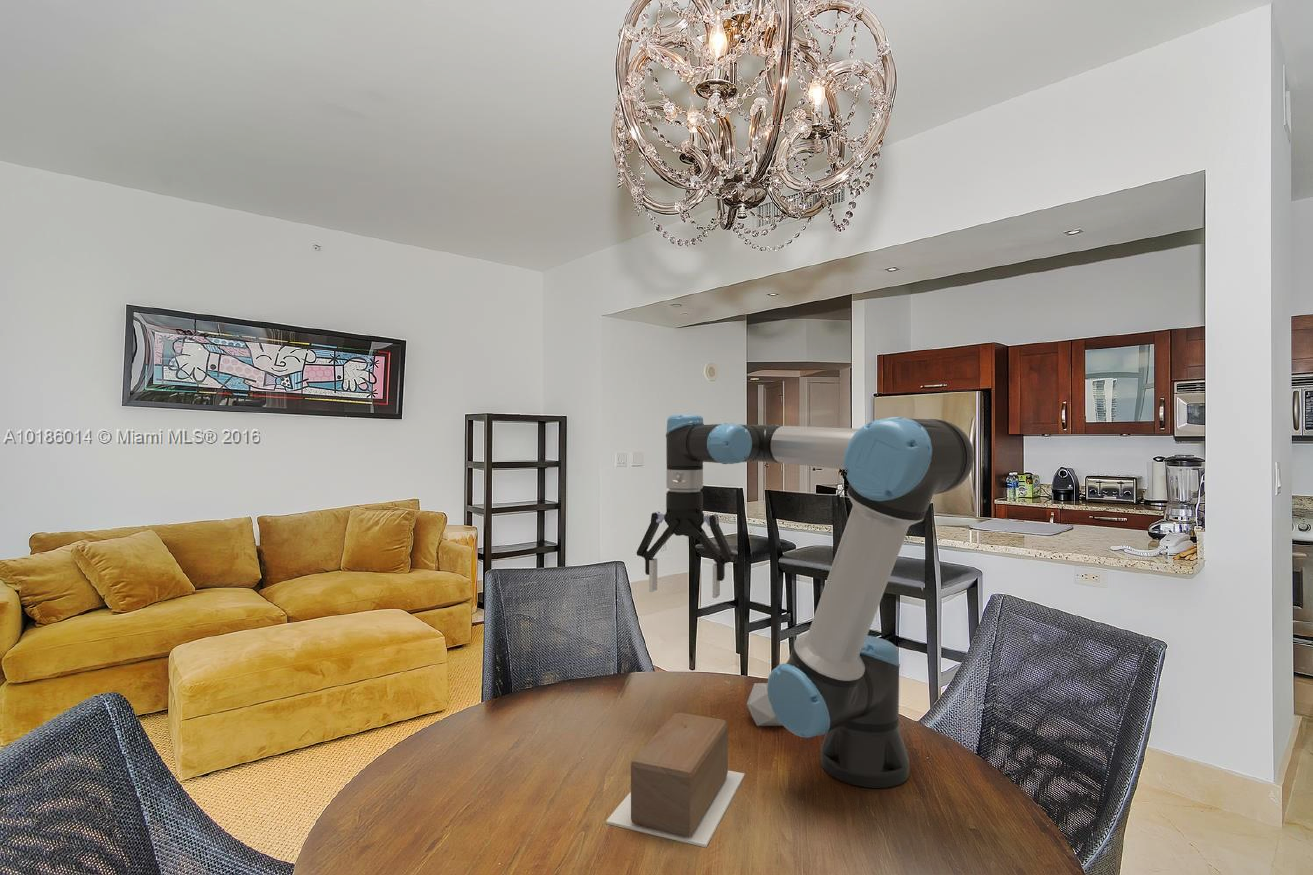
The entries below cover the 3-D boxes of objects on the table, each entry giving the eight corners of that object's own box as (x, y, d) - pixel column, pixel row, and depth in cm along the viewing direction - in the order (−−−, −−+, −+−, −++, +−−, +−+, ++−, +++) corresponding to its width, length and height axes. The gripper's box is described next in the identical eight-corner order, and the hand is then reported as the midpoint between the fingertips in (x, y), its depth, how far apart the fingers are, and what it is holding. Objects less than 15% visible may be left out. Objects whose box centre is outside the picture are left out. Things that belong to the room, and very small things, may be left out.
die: (779, 739, 132) (801, 694, 135) (741, 714, 134) (763, 671, 137) (772, 736, 140) (793, 694, 143) (736, 713, 141) (757, 672, 144)
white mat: (744, 775, 117) (744, 773, 117) (706, 847, 96) (706, 844, 96) (659, 759, 123) (659, 756, 123) (606, 823, 102) (606, 820, 102)
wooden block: (628, 759, 101) (675, 709, 119) (628, 825, 101) (675, 765, 119) (691, 771, 97) (729, 718, 116) (691, 840, 97) (729, 776, 116)
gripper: (621, 489, 138) (621, 592, 139) (739, 493, 130) (739, 603, 130) (635, 486, 145) (635, 584, 146) (748, 490, 137) (748, 594, 137)
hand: (684, 593), depth 138 cm, fingers open, 13 cm apart
